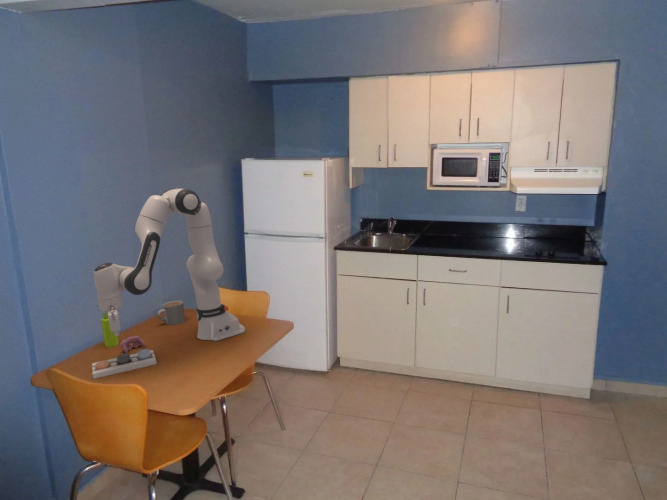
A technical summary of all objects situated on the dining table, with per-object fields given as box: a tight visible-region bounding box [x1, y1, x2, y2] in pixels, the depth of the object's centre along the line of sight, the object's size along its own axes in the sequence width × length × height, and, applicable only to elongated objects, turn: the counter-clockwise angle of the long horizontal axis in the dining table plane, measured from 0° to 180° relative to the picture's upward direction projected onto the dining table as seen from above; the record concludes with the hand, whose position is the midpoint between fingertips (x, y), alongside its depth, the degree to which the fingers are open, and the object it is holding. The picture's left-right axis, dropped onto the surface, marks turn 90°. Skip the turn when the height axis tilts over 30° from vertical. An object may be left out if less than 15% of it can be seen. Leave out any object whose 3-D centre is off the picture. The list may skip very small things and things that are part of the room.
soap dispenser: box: [96, 304, 120, 348], centre depth 225 cm, size 6×7×20 cm
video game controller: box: [119, 335, 146, 354], centre depth 219 cm, size 10×5×7 cm, turn 142°
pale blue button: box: [136, 348, 152, 361], centre depth 205 cm, size 5×5×3 cm
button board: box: [91, 349, 158, 380], centre depth 202 cm, size 24×12×2 cm, turn 117°
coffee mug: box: [156, 300, 186, 326], centre depth 252 cm, size 13×10×10 cm
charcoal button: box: [116, 352, 132, 366], centre depth 201 cm, size 5×5×3 cm
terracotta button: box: [96, 360, 110, 370], centre depth 198 cm, size 5×5×3 cm
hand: (117, 334), depth 199 cm, fingers closed
